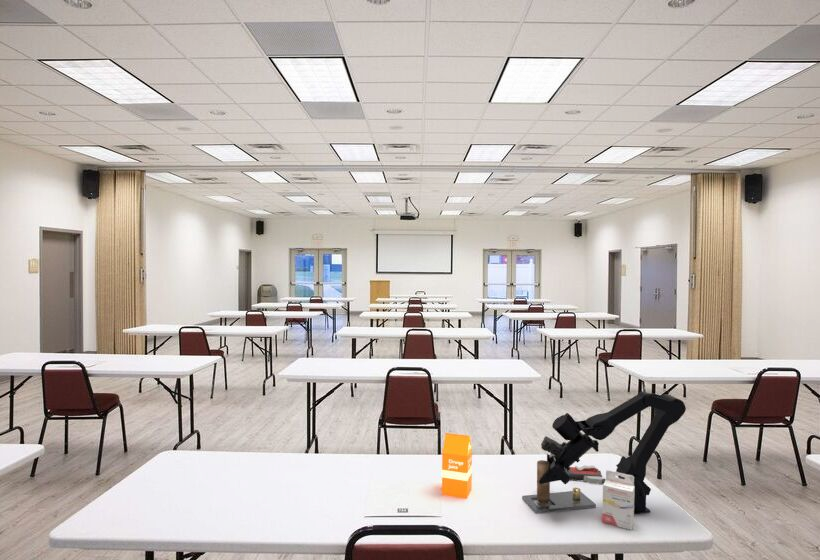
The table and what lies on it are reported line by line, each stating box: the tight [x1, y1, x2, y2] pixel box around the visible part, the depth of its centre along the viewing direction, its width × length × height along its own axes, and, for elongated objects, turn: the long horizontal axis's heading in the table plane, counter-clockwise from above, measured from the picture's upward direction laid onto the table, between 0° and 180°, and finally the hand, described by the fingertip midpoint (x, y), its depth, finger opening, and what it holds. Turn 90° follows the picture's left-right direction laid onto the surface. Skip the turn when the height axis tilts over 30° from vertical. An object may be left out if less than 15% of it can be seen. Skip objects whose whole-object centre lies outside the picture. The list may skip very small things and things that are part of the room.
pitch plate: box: [521, 487, 597, 514], centre depth 159 cm, size 10×21×4 cm, turn 101°
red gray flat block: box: [568, 464, 606, 485], centre depth 178 cm, size 9×4×20 cm
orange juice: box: [441, 432, 473, 499], centre depth 166 cm, size 8×9×20 cm
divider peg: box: [536, 459, 551, 504], centre depth 158 cm, size 4×4×12 cm
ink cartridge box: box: [601, 469, 635, 531], centre depth 147 cm, size 9×5×15 cm, turn 59°
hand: (539, 479), depth 158 cm, fingers open, 4 cm apart
